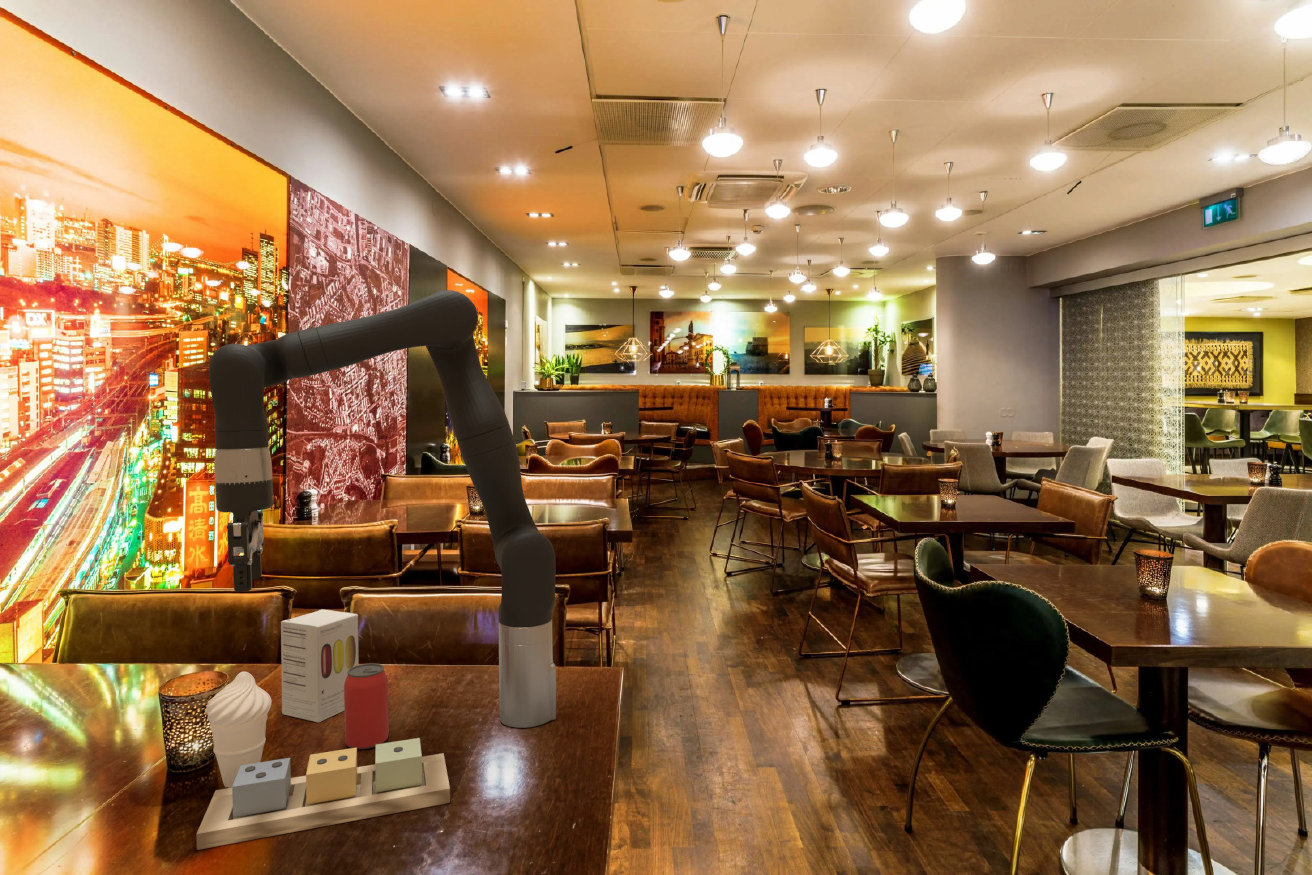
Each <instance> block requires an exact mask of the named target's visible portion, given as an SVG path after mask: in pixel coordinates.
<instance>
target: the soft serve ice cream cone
mask: <svg viewBox="0 0 1312 875" xmlns="http://www.w3.org/2000/svg"><path fill="white" fill-rule="evenodd" d="M271 706H272V697H271V696H270V694H269V693H268V692H267V691H266V690H265V689H263V688H261V687H260V686H259V685H257V683H256V680H255V677H254V676H253V675H252V674H251V673H250V672H248V671H241V672H239V673H238V674H237V675H236V676H235V677H234V679H233V680H232V681H231V682H230V683H229V684H227V685H225V686H224V687H223V688H222V689H221V690H220V691H218V692H217V693H216V694H214V697H212V698H210V700H208V702H207V707H206V708H204V709H205V710H204V713H205V714H206V715H207V721H209V722H210V723H209V724H210V727H209V729H210V731H211V732H212V741H213V742H212V743H213V749H212V750H213V751H212V752H213V753H214V754H215V757H216V761H217V764H218V768H219V772H220V776H221V779H222V783H223V785H224V787H225V788H226V789H227V788H232V786H233V784H234V781H235V779H236V776H237V774H238V771H239V769H240V766H241V765H246V764H253V763H259V762H262V755H263V751H264V746H265V744H266V740H267V739H266V730H267V720H268V714H269V711H270V710H271Z"/></svg>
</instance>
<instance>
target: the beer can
mask: <svg viewBox="0 0 1312 875" xmlns="http://www.w3.org/2000/svg"><path fill="white" fill-rule="evenodd" d="M347 674H348V675H347V677H346V680H345V684H344V741H345V742H344V743H345V744H346V746H347V747H349V749H350V748H357V750H369V749H372V748H376V744H383V743H386V741H387V740H388V737H389V734H390V732H389V690H388V688H389V685H388V684H389V682H388V681H389V679H388V676H387V675H388V674H386V671H385V666H384V665H383V664H381V663H376V662H375V663H373V662H372V663H371V662H369V663H362V664H358V665H357V666H354V667H352V668H350V669H349V670H348V672H347Z"/></svg>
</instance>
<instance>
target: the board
mask: <svg viewBox="0 0 1312 875" xmlns="http://www.w3.org/2000/svg"><path fill="white" fill-rule="evenodd" d="M450 787H451V786H450V782H449V776H448V771H447V766H446V759H445V755H444V752H443V753H436V754H431V755H424V756H423V755H422V784H421V785H416V786H410V787H404V788H399V789H393V790H387V791H381V792H376V774H375V764H370V765H363V766H357V787H356V796H353V797H347V798H342V799H336V800H330V801H325V802H319V803H313V804H307V798H306V775H302V776H296V777H295V776H294V777H291V788H290V792H289V796H288V800H287V804H286V808H285V809H279V810H273V811H268V812H262V813H256V814H251V815H245V816H239V817H234V818H233V798H232V788H227V787H226V788H222V789H216V790H215V791H214V793H213V796H212V798H211V800H210V803H209V805H208V806H207V810H206V811H205V814H204V816H203V819H202V821H201V822H200V826H199V827H198V830H197V832H196V850H203V849H204V850H205V849H209V848H214V847H220V846H226V845H230V844H235V843H243V842H246V841H252V840H257V839H262V838H268V837H273V836H279V835H284V834H291V833H294V832H299V831H306V830H310V829H311V830H312V829H317V828H321V827H327V826H332V825H339V824H342V823H348V822H353V821H359V820H364V819H370V818H374V817H380V816H385V815H386V816H387V815H391V814H396V813H401V812H408V811H413V810H418V809H425V808H429V807H434V806H440V805H445V804H450V803H451V788H450Z"/></svg>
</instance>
